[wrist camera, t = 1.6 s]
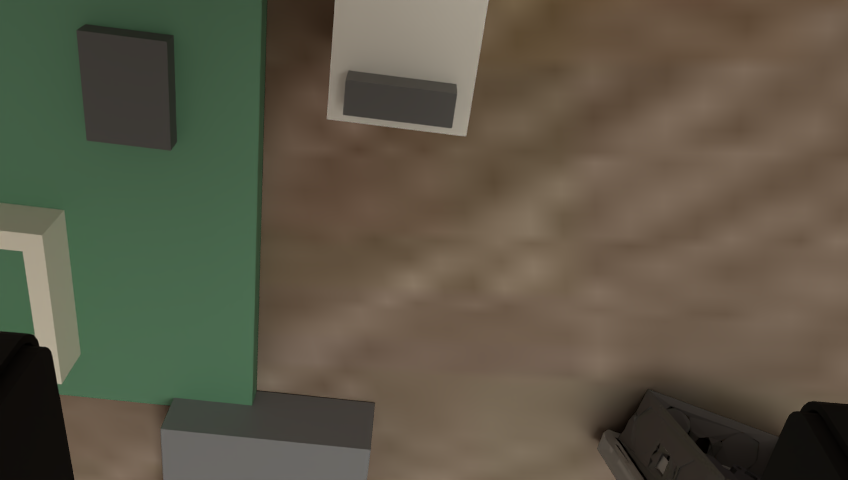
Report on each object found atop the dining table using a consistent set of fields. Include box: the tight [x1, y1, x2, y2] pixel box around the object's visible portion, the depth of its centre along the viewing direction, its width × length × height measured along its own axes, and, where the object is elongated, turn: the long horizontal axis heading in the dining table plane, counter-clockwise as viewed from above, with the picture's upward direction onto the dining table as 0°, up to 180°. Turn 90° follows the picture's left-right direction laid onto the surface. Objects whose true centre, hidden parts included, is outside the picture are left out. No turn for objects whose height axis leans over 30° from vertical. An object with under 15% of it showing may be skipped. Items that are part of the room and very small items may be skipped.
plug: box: [327, 0, 489, 136], centre depth 24 cm, size 4×4×8 cm
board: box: [0, 0, 267, 406], centre depth 30 cm, size 20×16×3 cm
